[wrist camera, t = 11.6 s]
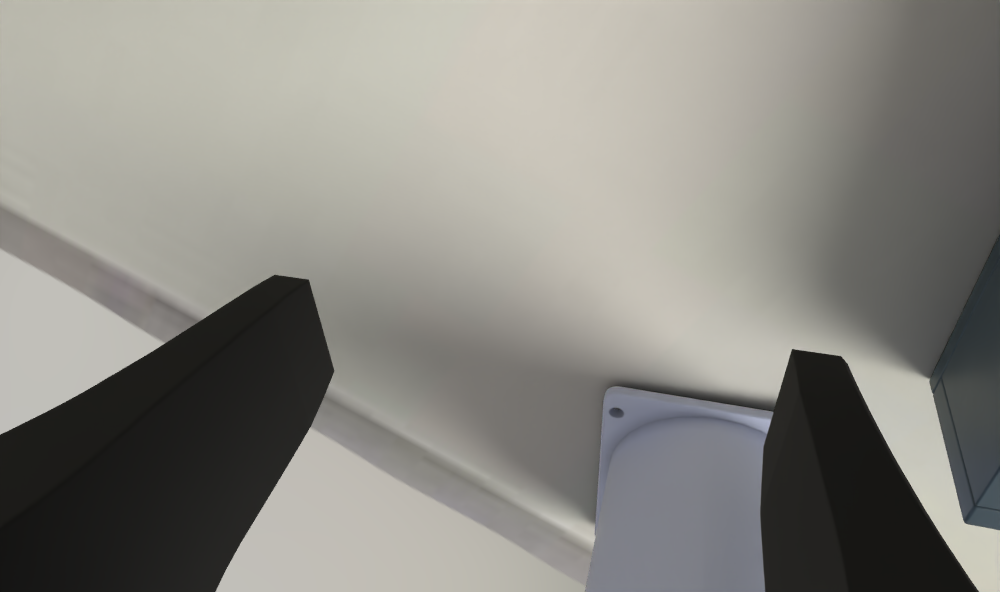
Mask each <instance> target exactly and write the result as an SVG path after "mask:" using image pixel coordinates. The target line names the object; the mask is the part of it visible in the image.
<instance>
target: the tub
mask: <svg viewBox="0 0 1000 592" xmlns="http://www.w3.org/2000/svg"><path fill="white" fill-rule="evenodd" d="M930 386H931V390H932V393H933V397H934V401H935V405H936V409H937V413H938V418H939V422H940V426H941V430H942V434H943V438H944V442H945V446H946V450H947V455H948V459H949V463H950V467H951V471H952V475H953V479H954V483H955V488H956V492H957V496H958V500H959V504H960V508H961V512H962V516H963V520H964V522H965V523H966V524H970V525H975V526H980V527H986V528H991V529H996V530H1000V235H999V237H998V239H997V241H996V244H995V246H994V248H993V250H992V252H991V254H990V256H989V258H988V260H987V262H986V264H985V266H984V268H983V271H982V273H981V275H980V277H979V279H978V281H977V283H976V285H975V287H974V289H973V291H972V293H971V295H970V297H969V300H968V302H967V304H966V306H965V308H964V310H963V312H962V314H961V316H960V318H959V320H958V322H957V324H956V327H955V329H954V331H953V333H952V335H951V337H950V339H949V341H948V343H947V345H946V347H945V349H944V351H943V353H942V356H941V358H940V360H939V362H938V364H937V366H936V368H935V370H934V372H933V374H932V376H931V378H930Z"/></svg>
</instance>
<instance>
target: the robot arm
mask: <svg viewBox="0 0 1000 592" xmlns="http://www.w3.org/2000/svg"><path fill="white" fill-rule="evenodd" d="M333 373H334V368H333V365H332V361H331V358H330V354H329V350H328V347H327V343H326V340H325V336H324V332H323V329H322V325H321V322H320V318H319V315H318V311H317V307H316V304H315V300H314V297H313V293H312V290H311V286H310V282H309V280H307V279H300V278H293V277H286V276H279V275H274V276H272V277H270V278H268V279H266V280H265V281H263V282H261V283H260V284H258V285H256V286H255V287H253V288H251V289H250V290H248V291H246V292H245V293H243V294H242V295H240V296H239V297H237V298H235V299H234V300H232V301H231V302H229V303H228V304H226V305H224V306H223V307H221V308H220V309H218V310H217V311H215V312H214V313H212V314H211V315H209V316H207V317H206V318H204V319H203V320H201V321H200V322H198V323H197V324H195V325H193V326H192V327H190V328H189V329H187V330H186V331H184V332H182V333H181V334H179V335H178V336H176V337H175V338H173V339H171V340H170V341H168V342H167V343H165V344H164V345H162V346H160V347H159V348H157V349H156V350H154V351H153V352H151V353H149V354H148V355H146V356H144V357H143V358H141V359H139V360H138V361H136V362H134V363H132V364H131V365H129V366H127V367H126V368H124V369H122V370H121V371H119V372H117V373H115V374H114V375H112V376H110V377H109V378H107V379H105V380H104V381H102V382H100V383H99V384H97V385H95V386H93V387H92V388H90V389H88V390H86V391H85V392H83V393H81V394H79V395H78V396H76V397H74V398H72V399H70V400H68V401H66V402H65V403H63V404H61V405H59V406H57V407H55V408H53V409H51V410H49V411H47V412H46V413H43V414H41V415H39V416H37V417H35V418H33V419H31V420H29V421H28V422H25V423H23V424H21V425H19V426H17V427H15V428H13V429H11V430H9V431H7V432H5V433H3V434H1V435H0V592H215V591H216V589H217V587H218V585H219V583H220V581H221V578H222V577H223V575H224V573H225V570H226V569H227V567H228V565H229V563H230V561H231V560H232V558H233V556H234V554H235V552H236V551H237V549H238V547H239V545H240V543H241V542H242V540H243V538H244V537H245V535H246V533H247V532H248V530H249V528H250V526H251V525H252V524H253V522H254V520H255V518H256V517H257V515H258V514H259V512H260V510H261V508H262V507H263V505H264V504H265V502H266V500H267V499H268V497H269V495H270V494H271V492H272V491H273V489H274V487H275V486H276V484H277V482H278V480H279V479H280V477H281V476H282V474H283V472H284V471H285V469H286V467H287V466H288V464H289V462H290V461H291V459H292V457H293V456H294V454H295V452H296V450H297V449H298V447H299V446H300V444H301V442H302V441H303V439H304V437H305V435H306V434H307V432H308V430H309V428H310V427H311V425H312V422H313V420H314V418H315V416H316V414H317V411H318V409H319V407H320V405H321V402H322V400H323V398H324V395H325V393H326V390H327V388H328V385H329V383H330V381H331V378H332V376H333ZM615 408H619V409H621V410H617V409H615ZM595 536H596V537H595V542H594V547H593V552H592V558H591V563H590V568H589V573H588V578H587V583H586V589H585V592H979V591H978V590H977V588H976V587H975V586H974V584H973V583H972V581H971V580H970V578H969V577H968V575H967V574H966V572H965V571H964V569H963V568H962V566H961V565H960V563H959V562H958V560H957V559H956V557H955V556H954V554H953V553H952V551H951V550H950V548H949V547H948V545H947V544H946V542H945V541H944V539H943V538H942V536H941V535H940V533H939V531H938V530H937V528H936V527H935V525H934V523H933V522H932V520H931V519H930V517H929V515H928V514H927V512H926V511H925V509H924V507H923V506H922V504H921V502H920V500H919V499H918V497H917V495H916V494H915V492H914V490H913V489H912V487H911V485H910V483H909V482H908V480H907V478H906V477H905V475H904V473H903V471H902V470H901V468H900V466H899V465H898V463H897V461H896V459H895V458H894V456H893V454H892V452H891V450H890V448H889V447H888V445H887V443H886V441H885V439H884V437H883V435H882V434H881V432H880V430H879V428H878V426H877V424H876V422H875V420H874V418H873V416H872V414H871V412H870V410H869V408H868V406H867V404H866V402H865V400H864V398H863V396H862V394H861V392H860V390H859V388H858V386H857V384H856V382H855V380H854V377H853V375H852V373H851V371H850V369H849V366H848V364H847V363H846V362H845V360H844V359H843V358H842V357H841V356H836V355H829V354H822V353H815V352H808V351H801V350H794V349H792V351H791V355H790V358H789V362H788V365H787V368H786V372H785V375H784V378H783V382H782V385H781V389H780V392H779V395H778V399H777V402H776V406H775V409H774V412H772V411H766V410H760V409H754V408H748V407H742V406H735V405H729V404H723V403H717V402H711V401H705V400H699V399H693V398H687V397H681V396H675V395H668V394H662V393H656V392H650V391H644V390H638V389H632V388H626V387H620V386H614V387H610V388H609V389H607V390H606V392H605V396H604V400H603V415H602V431H601V446H600V461H599V476H598V492H597V507H596V522H595Z"/></svg>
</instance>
